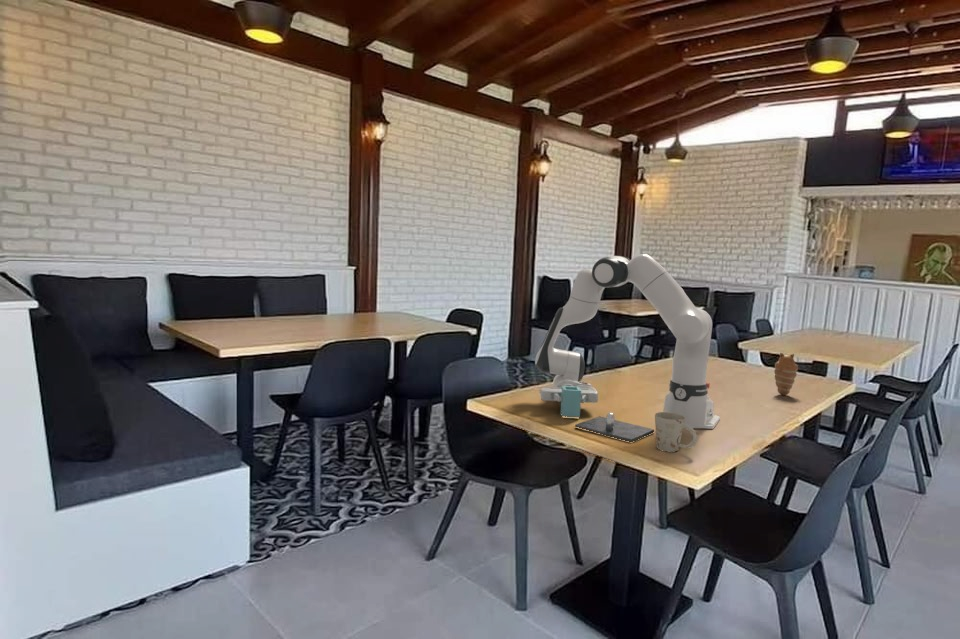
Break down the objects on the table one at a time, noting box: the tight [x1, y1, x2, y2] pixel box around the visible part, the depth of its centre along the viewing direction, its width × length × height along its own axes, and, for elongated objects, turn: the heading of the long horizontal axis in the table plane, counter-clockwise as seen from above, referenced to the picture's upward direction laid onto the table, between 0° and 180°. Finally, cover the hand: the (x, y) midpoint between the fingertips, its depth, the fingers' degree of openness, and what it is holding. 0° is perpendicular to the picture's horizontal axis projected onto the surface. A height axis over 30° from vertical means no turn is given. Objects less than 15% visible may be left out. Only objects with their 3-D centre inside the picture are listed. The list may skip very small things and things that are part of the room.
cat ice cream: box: [774, 352, 799, 396], centre depth 245 cm, size 9×8×18 cm
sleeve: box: [560, 386, 582, 418], centre depth 202 cm, size 6×6×10 cm
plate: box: [574, 412, 655, 443], centre depth 187 cm, size 15×20×6 cm
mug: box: [654, 411, 698, 453], centre depth 169 cm, size 8×13×10 cm, turn 51°
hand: (571, 400), depth 201 cm, fingers closed on sleeve, 6 cm apart
